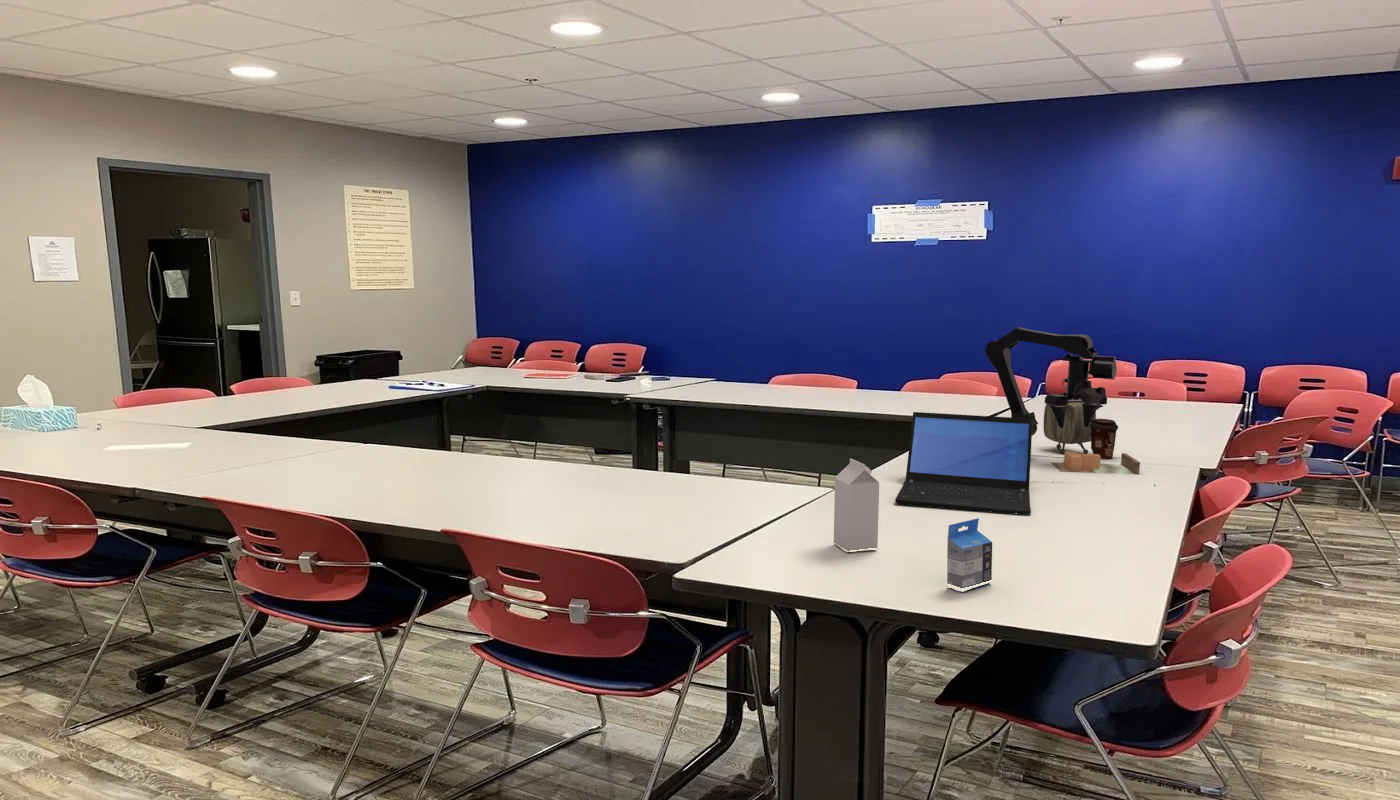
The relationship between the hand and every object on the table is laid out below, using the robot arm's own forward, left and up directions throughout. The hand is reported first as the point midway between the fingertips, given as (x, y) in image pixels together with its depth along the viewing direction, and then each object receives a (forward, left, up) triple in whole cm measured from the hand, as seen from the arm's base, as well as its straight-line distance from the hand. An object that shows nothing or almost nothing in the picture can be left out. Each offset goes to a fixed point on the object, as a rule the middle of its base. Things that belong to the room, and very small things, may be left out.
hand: (1073, 427), depth 287 cm
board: (+5, -4, -13) cm, 14 cm away
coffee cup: (+12, +14, -13) cm, 22 cm away
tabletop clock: (+4, +26, -13) cm, 29 cm away
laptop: (-37, -41, -13) cm, 57 cm away
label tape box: (-46, -118, -13) cm, 127 cm away
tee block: (+2, -4, -12) cm, 12 cm away
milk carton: (-67, -96, -13) cm, 118 cm away
